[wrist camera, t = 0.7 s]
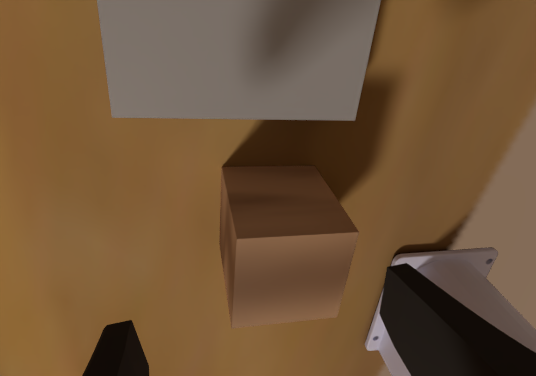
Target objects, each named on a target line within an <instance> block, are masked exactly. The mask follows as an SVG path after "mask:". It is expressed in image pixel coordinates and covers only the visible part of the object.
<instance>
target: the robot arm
mask: <svg viewBox="0 0 536 376" xmlns="http://www.w3.org/2000/svg"><path fill="white" fill-rule="evenodd" d="M497 255H498V252H497V250H495V249H494V248H492V247H490V248H477V249H462V250H448V251H434V252H420V253H407V254H399V255H397V256H395V257H394V259H393V261H392V264H391V266H389V267H387V272H386V278H385V284H384V288H383V291H382V294H381V297H380V300H379V303H378V306H377V309H376V312H375V315H374V318H373V321H372V324H371V327H370V330H369V333H368V337H367V340H366V343H365V346H366V348H367V350H369V351H372V350H379V352H380V354H381V356H382V358H383V360H384V362H385V363H386V365H387V367H388V369H389V371H390V373H391V375H392V376H536V329H535V328H534V327H533V326H532V325H531V324H530V323H529V322H528V321H527V320H526V319H525V318H524V317H523V316H522V315H521V314H520V313H519V312H518V311H517V310H516V309H515V308H514V307H513V306H512V305H511V303H509V302H508V300H506V298H505V297H504V296H503V295H502V294H501V293H500V292H499V291H498V290H497V289H496V288H495V287H494V286H493V285H492V284H491V283H490V282H489V281H488V280H487V279H486V277H487V275H488V273H489V271H490V269H491V267H492V265H493V263H494V261H495V259H496V257H497ZM83 376H149V365H148V363H147V360H146V357H145V355H144V352H143V349H142V347H141V344H140V341H139V339H138V336H137V333H136V331H135V328H134V325H133V323H132V320H129V321H125V322H120V323H115V324H110V325H107V326H106V327H105V328H104V330H103V332H102V334H101V337H100V339H99V341H98V343H97V346H96V348H95V350H94V352H93V355H92V357H91V359H90V361H89V363H88V365H87V367H86V369H85V371H84V373H83Z"/></svg>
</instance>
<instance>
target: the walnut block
mask: <svg viewBox="0 0 536 376" xmlns="http://www.w3.org/2000/svg"><path fill="white" fill-rule="evenodd" d="M358 235H359V231H358V230H357V228H356V227H355V225H354V224H353V222H352V221H351V219H350V218H349V216H348V215H347V213H346V212H345V210H344V209H343V207H342V206H341V204H340V203H339V201H338V200H337V198H336V197H335V195H334V194H333V192H332V191H331V189H330V188H329V186H328V185H327V183H326V182H325V180H324V179H323V177H322V176H321V174H320V173H319V171H318V170H317V168H316V167H315V165H312V166H239V167H222V175H221V210H220V251H221V258H222V265H223V272H224V279H225V286H226V293H227V300H228V307H229V314H230V321H231V328H240V327H249V326H259V325H268V324H277V323H286V322H296V321H305V320H314V319H324V318H333V317H337V315H338V311H339V307H340V304H341V300H342V296H343V292H344V288H345V284H346V281H347V277H348V273H349V269H350V265H351V261H352V258H353V254H354V250H355V246H356V242H357V238H358Z"/></svg>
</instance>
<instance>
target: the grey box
mask: <svg viewBox="0 0 536 376" xmlns="http://www.w3.org/2000/svg"><path fill="white" fill-rule="evenodd" d="M380 2H381V0H97V4H98V12H99V19H100V27H101V35H102V43H103V51H104V58H105V66H106V74H107V82H108V90H109V97H110V105H111V113H112V117H116V118H191V119H266V120H341V121H355V119H356V114H357V109H358V105H359V100H360V95H361V91H362V86H363V81H364V77H365V72H366V67H367V63H368V58H369V53H370V49H371V44H372V39H373V35H374V30H375V25H376V21H377V16H378V11H379V7H380Z"/></svg>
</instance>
